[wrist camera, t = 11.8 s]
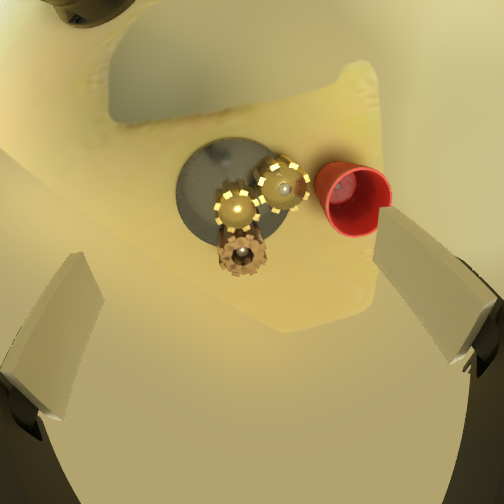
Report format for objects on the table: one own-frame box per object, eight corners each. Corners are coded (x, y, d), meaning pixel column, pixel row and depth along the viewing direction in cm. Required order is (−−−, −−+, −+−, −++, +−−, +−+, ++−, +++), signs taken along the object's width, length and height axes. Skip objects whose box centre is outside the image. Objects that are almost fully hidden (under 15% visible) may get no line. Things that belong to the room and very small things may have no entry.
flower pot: (326, 224, 47) (348, 252, 39) (293, 177, 42) (312, 197, 34) (371, 190, 45) (401, 211, 36) (343, 140, 40) (374, 151, 31)
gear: (209, 230, 43) (208, 248, 38) (249, 209, 42) (254, 225, 37) (230, 262, 47) (232, 283, 42) (268, 244, 46) (274, 263, 41)
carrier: (156, 174, 39) (143, 189, 32) (270, 114, 36) (282, 116, 30) (212, 260, 48) (212, 287, 41) (313, 211, 46) (330, 232, 39)
